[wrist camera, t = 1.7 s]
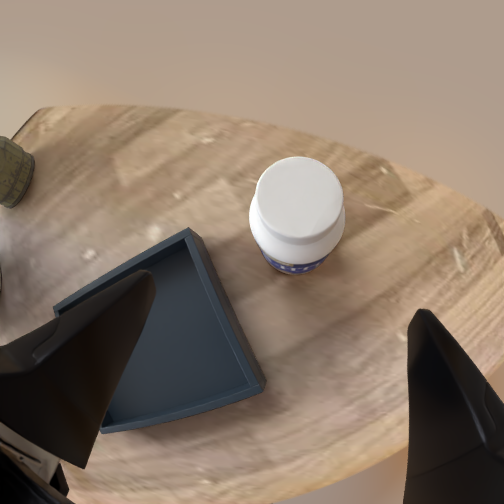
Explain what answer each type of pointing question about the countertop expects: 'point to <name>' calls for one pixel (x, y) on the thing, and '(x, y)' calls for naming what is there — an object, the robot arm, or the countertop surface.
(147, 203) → the countertop surface
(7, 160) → the stone statue
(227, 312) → the tray
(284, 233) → the pill bottle
